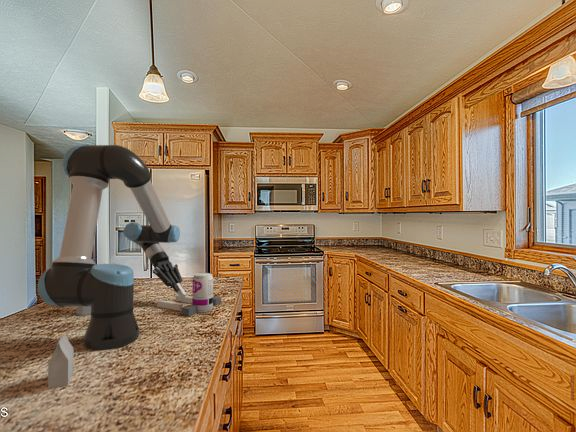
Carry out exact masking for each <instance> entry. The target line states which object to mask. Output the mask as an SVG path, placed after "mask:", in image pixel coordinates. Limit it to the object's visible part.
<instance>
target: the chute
mask: <svg viewBox="0 0 576 432" xmlns="http://www.w3.org/2000/svg"><path fill="white" fill-rule="evenodd" d="M179 302H180V303H179ZM181 302H182V303H181ZM183 303H187V304H189V305H185V306H183ZM191 304H192V296H191V295H190V296H189V295H186V296H185V297H184V298H183V299H181V298H180V297H179V295H178V294H175V302H174V301H168V300H162V299H159V300H156V307H157V308H163V309H169V310H174V311H180V313H181V314H180V315H181V316H185V317H192V316H194V315H196V314H197V312H196V306H192V305H191ZM220 305H222V296H216V295H213V307H217V306H220Z"/></svg>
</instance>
